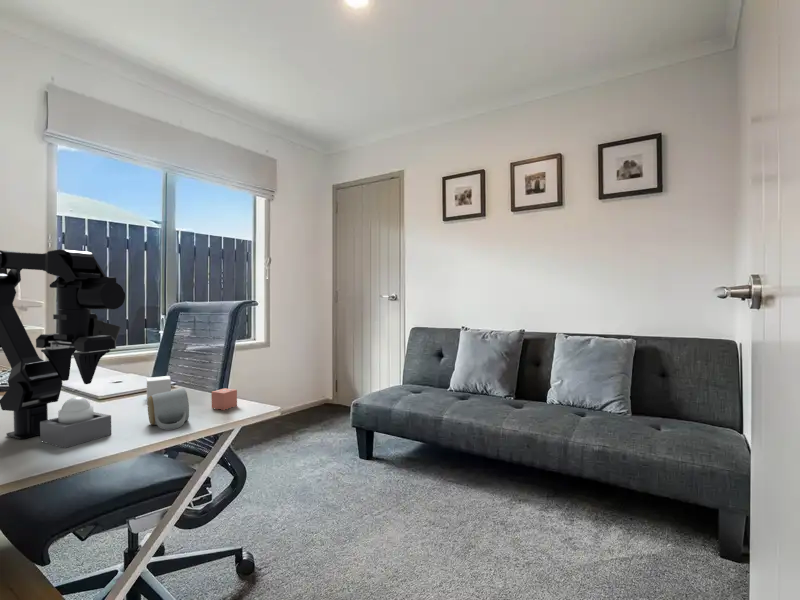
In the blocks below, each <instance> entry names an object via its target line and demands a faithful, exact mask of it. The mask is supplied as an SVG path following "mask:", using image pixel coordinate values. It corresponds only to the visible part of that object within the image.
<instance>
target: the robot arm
mask: <svg viewBox="0 0 800 600" xmlns="http://www.w3.org/2000/svg"><path fill="white" fill-rule="evenodd" d="M2 269H4V270H9V271H8V272H7V274H6V273H3V272H0V347H1V349H2V352H3V353H4V355H5V357H6V360H7V362H8V364H9V366H10V367H11V369H10V372H9V376H8V379H7V384H8V389H7V390H6V391H5V393H4V395H2V397H1V398H0V408H1V410H2V411H8V412H13V431H10V432H6V435H5V436H7V437H10V436H11V437H10V438H14V437H15V439H18V438H19V439H18V440H23V439H29V438H32V436H33V437H35V436H36V435H37V436H39V435H40V422H41V421H45V420H49V416H48V415H49V413H48V411H49V410H48V405H49V404H51V403H57V402H58V401H59V398H60V395H61V391H62V387H63V382H65V381H66V382H67V381H68V380H69V378H70V373H71V364H72V356H73V359H74V361H75V363H76V366H77V370H78V372H79V374H80V378H81V379H82V381H83V384H84V385H90V384H91V383H92V381H93V378H94V375H95V372H96V370H97V367H98V365H99V362H100V361H101V359H102V358H103V357H104V356H105V355H106V354H109V353H110V352H111V350H116V349H117V340H118V336H119V333H120V331H121V329H122V327H121V326H120V325H115V324H113V323H109V322H105V321H104V320H103V319H102V320H99V319H98V318H99V317H98V315H97V313H92V310H118V309H119V308H121V307H122V306H123V305H124V303H125V300H126V293H125V291H124V289H123V286H122V285H120V284H119V283H118V282H117V277H116V276H106V273H104V270H103V269H102V268H101V265H100V264H99V262H98V261H97V260H96V258H95V256H94V254H93V253H92V252H90V251H83V250H74V249H65V248H62V249H61V248H60V249H59V248H58V249H53V250H48V251H47V252H45V253H39V252H36V253H34V252H20V251H14V250H1V249H0V270H2ZM22 270H34V271H43V272H46V273H47V274H49V275H52V276H55V277H57V278H56V279H55V280H54V281H52V282H51V283H50V284H49V288H51V289H52V288H53V289H54V288H55V289H57V314H56V313H55V314H52V316H53V317H52V319H53V320H57V324H58V325H57V332H56V333H55V332H54V333H43V334H42V333H41V334H40V335H38V336H37V337H36V339H35V346H34V345H33V343H32V342H33V341H31V338H30V336H29V334H28V332H27V330H26V328H25V326H24V324H23V321H22V320H21V318H20V315H19V314H18V312H17V310H16V307H15V306H14V301H15V298H16V295H17V290H16V287H17V285H19V284H20V282H21V281H22V279H21V278H22V277H21V271H22ZM35 347H36V348H37V349H40V351H41V352H42V353H43V354H44V356H45V357H46V358H47V359H48V360H44V359H42V358H41V357H40V356H39V354H38V352H37V351H36V349H35ZM28 437H29V438H28Z"/></svg>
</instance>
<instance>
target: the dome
mask: <svg viewBox="0 0 800 600" xmlns="http://www.w3.org/2000/svg"><path fill="white" fill-rule="evenodd" d="M57 418H58V421H59V423H61V424H66V425H69V424H73V423H77V422H81V421H85V420H89V419H93V418H94V405H91V403H90V402H89V400H88V399H87V398H85V397H82V396H76V397H75V396H73V397H70V398H68V399H67V400H66V401H65V402H64V403H63V404H62V407H61V409H59V410H58V417H57Z"/></svg>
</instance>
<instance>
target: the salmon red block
mask: <svg viewBox="0 0 800 600" xmlns="http://www.w3.org/2000/svg"><path fill="white" fill-rule="evenodd" d="M234 406H236V407H238V390H237V389H235V388H225V387H224V388H220V389H217V390H213V391H211V409H212V408H215V409H214V410H218V409H221V410H220V411H226V410H225V409H227V410H228V408H230V409H232V408H231V407H233V408H235V407H234Z"/></svg>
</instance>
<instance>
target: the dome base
mask: <svg viewBox="0 0 800 600" xmlns="http://www.w3.org/2000/svg"><path fill="white" fill-rule="evenodd" d="M93 412H94V411H93ZM111 435H112V415H110V414H106V413H105V414H104V413H101V412H94V418H93V419H89V420H85V421H81V422H77V423H73V424H69V425H66V424H61V423H59V421H58V417H55V418H50V419H48V420H45V421H41V422H40V437H39V439H40V441H43V442H42V443H44V442H47V443H50V444H49V445H51V444H53V445H52V446H55V445H57V446H56V447H59V446H60V448H63V447H64V448H63V449H66V447H67V448H70V447H74V446H77V445H80V444H83V443H87V442H90V440H91V441H94V440H98V439H101V438H104V437H107V436H111ZM97 438H98V439H97ZM40 441H39V442H40ZM47 443H46V444H47ZM76 444H77V445H76ZM73 445H74V446H73ZM69 446H70V447H69Z"/></svg>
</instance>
